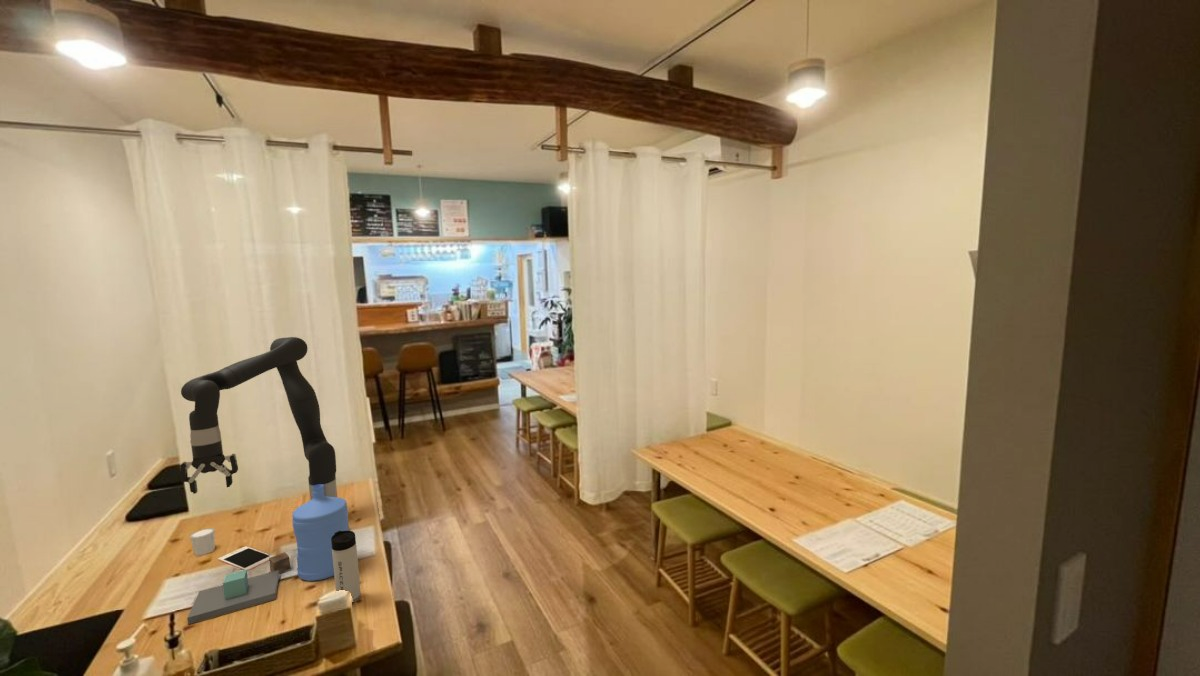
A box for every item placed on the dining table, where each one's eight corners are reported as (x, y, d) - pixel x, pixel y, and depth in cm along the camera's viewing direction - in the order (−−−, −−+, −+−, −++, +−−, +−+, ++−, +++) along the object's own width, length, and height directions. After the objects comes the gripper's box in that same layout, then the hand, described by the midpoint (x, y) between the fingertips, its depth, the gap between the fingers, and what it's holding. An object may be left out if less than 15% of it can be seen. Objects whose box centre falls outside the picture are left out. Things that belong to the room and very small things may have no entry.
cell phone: (246, 548, 172) (245, 545, 172) (275, 559, 164) (275, 556, 164) (217, 560, 164) (217, 558, 164) (247, 572, 156) (246, 570, 156)
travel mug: (353, 589, 144) (347, 526, 142) (365, 597, 140) (359, 532, 139) (332, 601, 139) (326, 536, 137) (343, 609, 135) (337, 542, 134)
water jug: (363, 558, 162) (356, 479, 159) (322, 585, 147) (314, 498, 144) (328, 552, 167) (321, 474, 164) (286, 577, 152) (277, 493, 149)
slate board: (279, 575, 153) (278, 570, 153) (275, 599, 141) (274, 593, 141) (200, 597, 143) (199, 591, 143) (188, 624, 131) (187, 617, 131)
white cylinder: (202, 557, 166) (200, 538, 166) (186, 555, 168) (184, 536, 167) (221, 547, 173) (219, 528, 172) (206, 545, 174) (204, 527, 174)
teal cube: (248, 584, 145) (246, 569, 145) (245, 593, 141) (244, 577, 141) (228, 590, 143) (226, 574, 142) (224, 599, 139) (222, 583, 138)
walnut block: (286, 564, 160) (284, 552, 159) (290, 569, 157) (289, 556, 156) (270, 571, 156) (269, 558, 156) (274, 575, 153) (273, 562, 153)
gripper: (235, 434, 159) (241, 480, 161) (180, 442, 152) (186, 490, 154) (231, 439, 153) (237, 488, 154) (174, 448, 146) (180, 499, 147)
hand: (212, 489), depth 154 cm, fingers open, 8 cm apart
